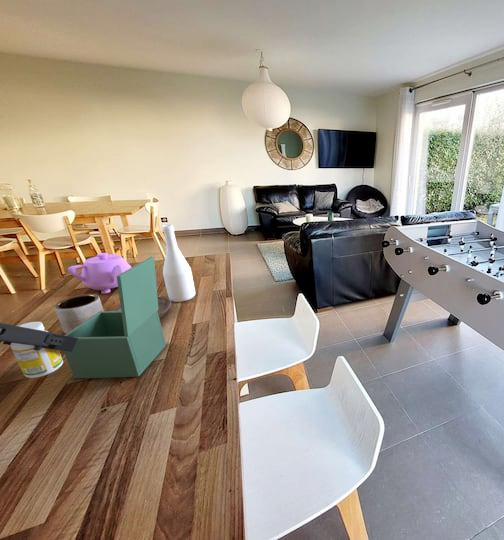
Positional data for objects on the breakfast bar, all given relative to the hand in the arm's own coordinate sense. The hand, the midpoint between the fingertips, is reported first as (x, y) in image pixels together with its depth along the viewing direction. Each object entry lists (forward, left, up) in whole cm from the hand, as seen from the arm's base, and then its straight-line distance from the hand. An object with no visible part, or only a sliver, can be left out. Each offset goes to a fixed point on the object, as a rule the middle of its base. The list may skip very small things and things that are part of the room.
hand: (58, 343), depth 58 cm
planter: (-26, +36, -19) cm, 48 cm away
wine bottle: (-5, +57, -19) cm, 60 cm away
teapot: (-38, +65, -19) cm, 78 cm away
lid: (+5, +18, +2) cm, 19 cm away
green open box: (-3, +18, -19) cm, 26 cm away
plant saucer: (-12, +43, -19) cm, 49 cm away
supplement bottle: (-1, -4, -4) cm, 5 cm away
